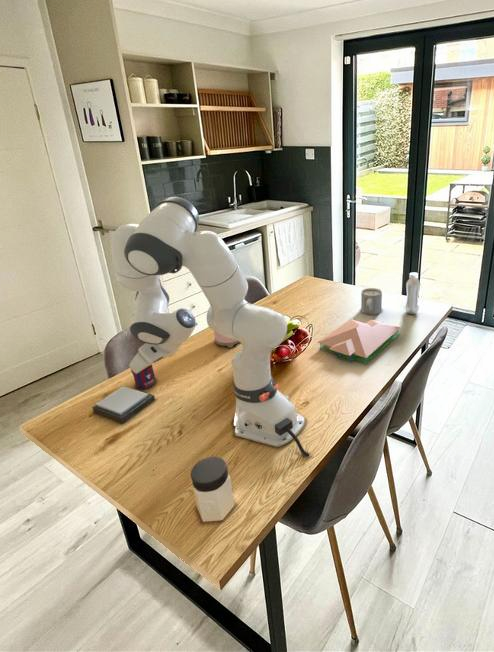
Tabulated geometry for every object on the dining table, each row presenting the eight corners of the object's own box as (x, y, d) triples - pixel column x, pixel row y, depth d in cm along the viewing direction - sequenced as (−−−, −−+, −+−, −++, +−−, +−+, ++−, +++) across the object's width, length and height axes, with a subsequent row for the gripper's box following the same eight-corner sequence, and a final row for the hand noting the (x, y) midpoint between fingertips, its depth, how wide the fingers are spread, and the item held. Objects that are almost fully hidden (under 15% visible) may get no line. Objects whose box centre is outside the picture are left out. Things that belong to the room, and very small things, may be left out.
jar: (193, 523, 92) (184, 485, 87) (200, 494, 99) (193, 457, 94) (232, 520, 92) (225, 482, 87) (236, 491, 100) (231, 455, 95)
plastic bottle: (403, 309, 197) (405, 271, 189) (417, 309, 196) (420, 271, 188) (404, 315, 191) (406, 275, 184) (419, 315, 190) (421, 276, 183)
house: (313, 352, 162) (312, 334, 159) (355, 322, 186) (355, 306, 183) (362, 368, 149) (362, 349, 146) (400, 334, 174) (401, 317, 171)
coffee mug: (366, 305, 204) (366, 286, 201) (384, 308, 200) (384, 289, 196) (355, 314, 194) (355, 295, 190) (374, 318, 189) (374, 299, 185)
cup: (142, 391, 141) (138, 374, 138) (127, 382, 147) (123, 366, 144) (159, 382, 146) (155, 366, 143) (144, 373, 151) (140, 358, 149)
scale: (155, 400, 136) (153, 393, 135) (123, 423, 125) (121, 416, 124) (126, 390, 142) (124, 383, 141) (93, 412, 131) (91, 405, 130)
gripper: (182, 323, 140) (166, 342, 147) (134, 350, 123) (119, 370, 130) (193, 336, 140) (177, 355, 147) (148, 365, 123) (132, 385, 130)
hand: (150, 362), depth 139 cm, fingers open, 8 cm apart
